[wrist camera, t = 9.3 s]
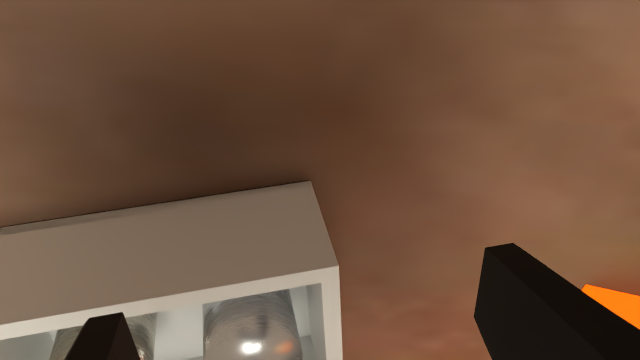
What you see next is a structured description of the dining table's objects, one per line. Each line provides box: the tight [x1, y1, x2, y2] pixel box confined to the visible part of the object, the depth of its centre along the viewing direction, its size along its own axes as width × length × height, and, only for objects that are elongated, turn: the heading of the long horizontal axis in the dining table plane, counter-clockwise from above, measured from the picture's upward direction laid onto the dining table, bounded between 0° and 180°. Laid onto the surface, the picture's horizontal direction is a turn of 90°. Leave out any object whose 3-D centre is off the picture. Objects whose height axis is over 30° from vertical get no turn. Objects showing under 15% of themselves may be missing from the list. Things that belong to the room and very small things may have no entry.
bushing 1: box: [49, 312, 157, 360], centre depth 20 cm, size 4×4×4 cm
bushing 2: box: [202, 289, 303, 360], centre depth 21 cm, size 4×4×4 cm
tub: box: [0, 181, 343, 360], centre depth 21 cm, size 12×9×5 cm
